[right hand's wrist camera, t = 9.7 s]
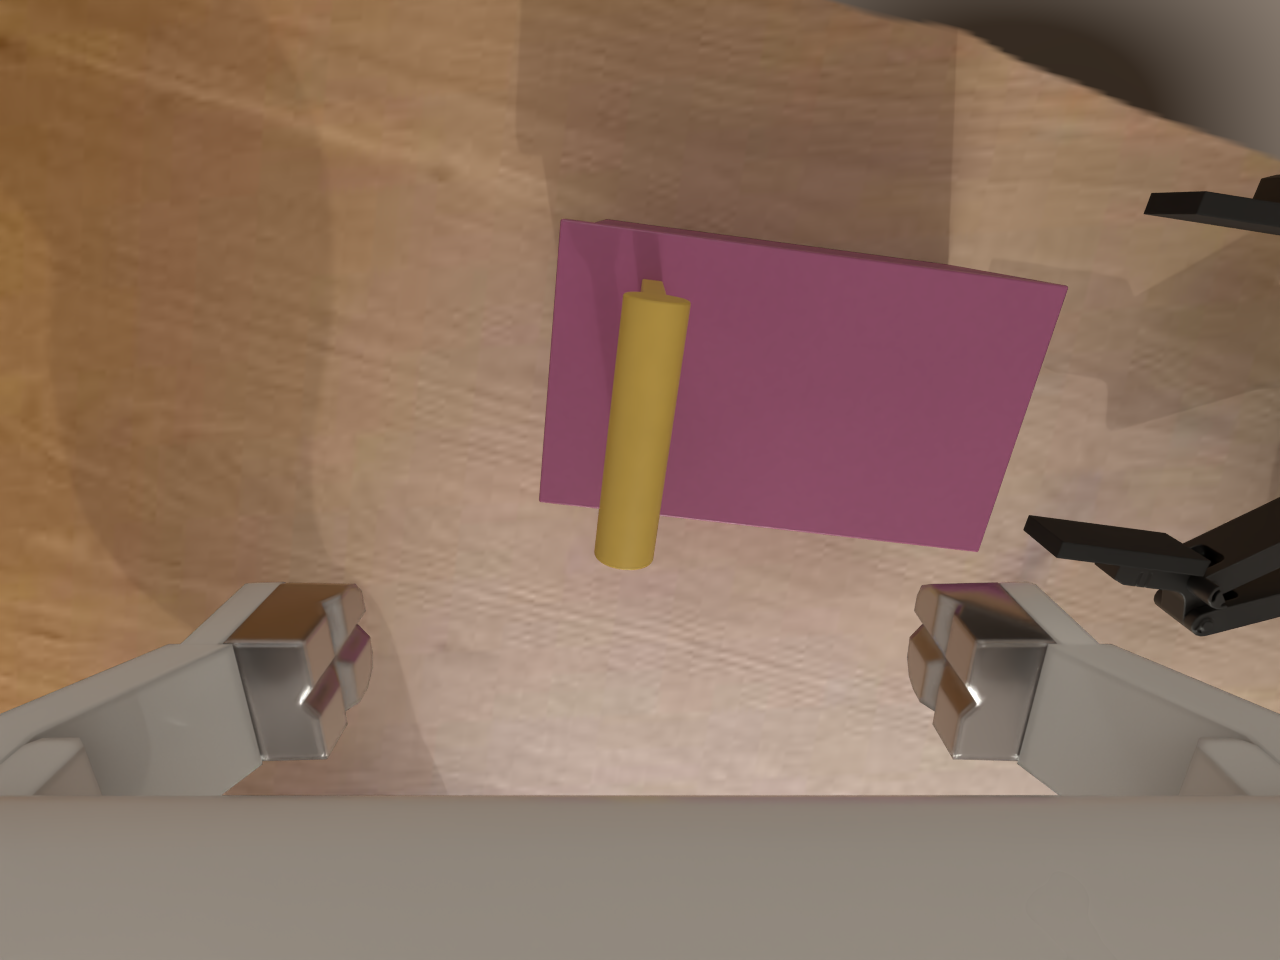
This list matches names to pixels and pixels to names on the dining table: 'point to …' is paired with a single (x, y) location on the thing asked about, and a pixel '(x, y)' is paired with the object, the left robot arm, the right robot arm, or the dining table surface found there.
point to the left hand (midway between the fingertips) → (1100, 384)
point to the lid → (782, 389)
